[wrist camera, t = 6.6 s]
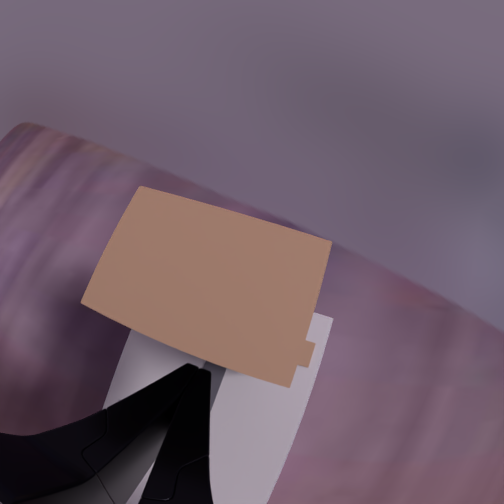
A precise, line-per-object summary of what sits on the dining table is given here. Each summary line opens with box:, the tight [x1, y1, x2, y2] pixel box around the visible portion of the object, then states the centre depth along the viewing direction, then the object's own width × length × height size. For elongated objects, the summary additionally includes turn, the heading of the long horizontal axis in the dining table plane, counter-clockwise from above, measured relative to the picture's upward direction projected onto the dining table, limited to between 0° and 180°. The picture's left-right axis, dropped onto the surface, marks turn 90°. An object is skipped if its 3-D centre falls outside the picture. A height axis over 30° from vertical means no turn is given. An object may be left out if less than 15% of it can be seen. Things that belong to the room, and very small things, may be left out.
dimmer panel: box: [102, 313, 333, 504], centre depth 12 cm, size 19×9×3 cm, turn 161°
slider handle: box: [80, 186, 332, 388], centre depth 10 cm, size 3×5×8 cm
